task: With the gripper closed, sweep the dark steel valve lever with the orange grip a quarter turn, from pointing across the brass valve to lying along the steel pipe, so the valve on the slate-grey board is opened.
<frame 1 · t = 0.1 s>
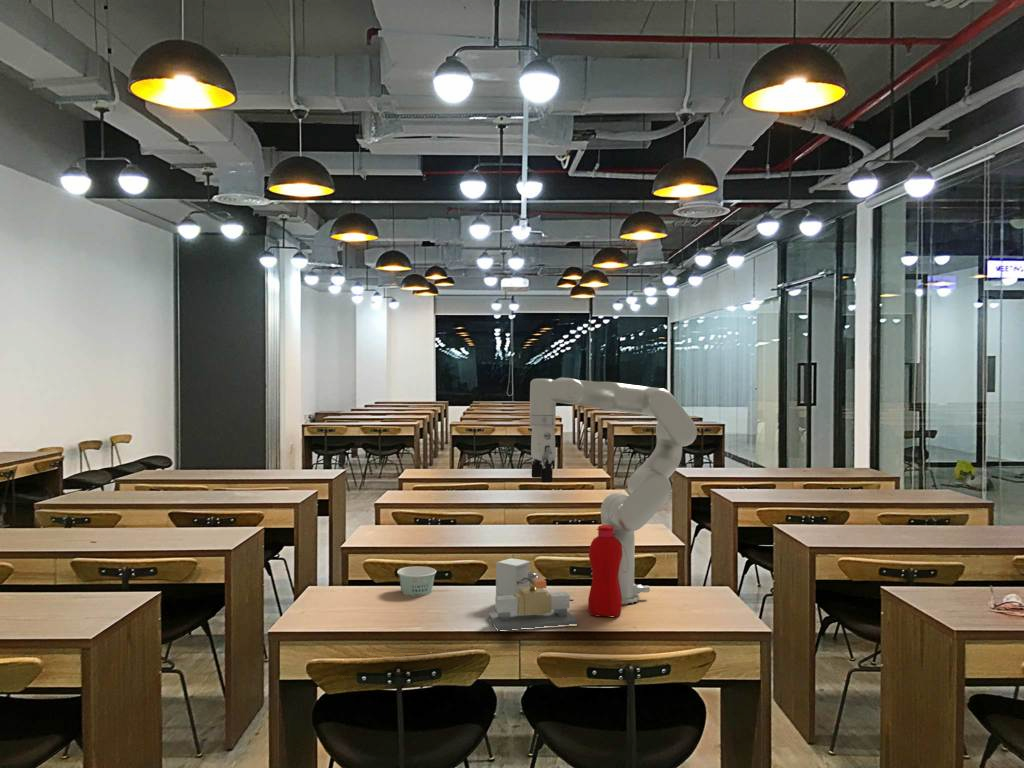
hand: (541, 479, 254), 37 cm above the table, tool pointing down, fingers open, 9 cm apart
food container: (416, 592, 268), on the table
valve lever: (536, 580, 234), point 12 cm above the table, hinge at 0.0°
supplement box: (512, 604, 256), on the table
pipe valve: (532, 599, 238), on the mounting board, point 6 cm above the table
mounting board: (532, 622, 238), on the table
water bottle: (608, 614, 247), on the table
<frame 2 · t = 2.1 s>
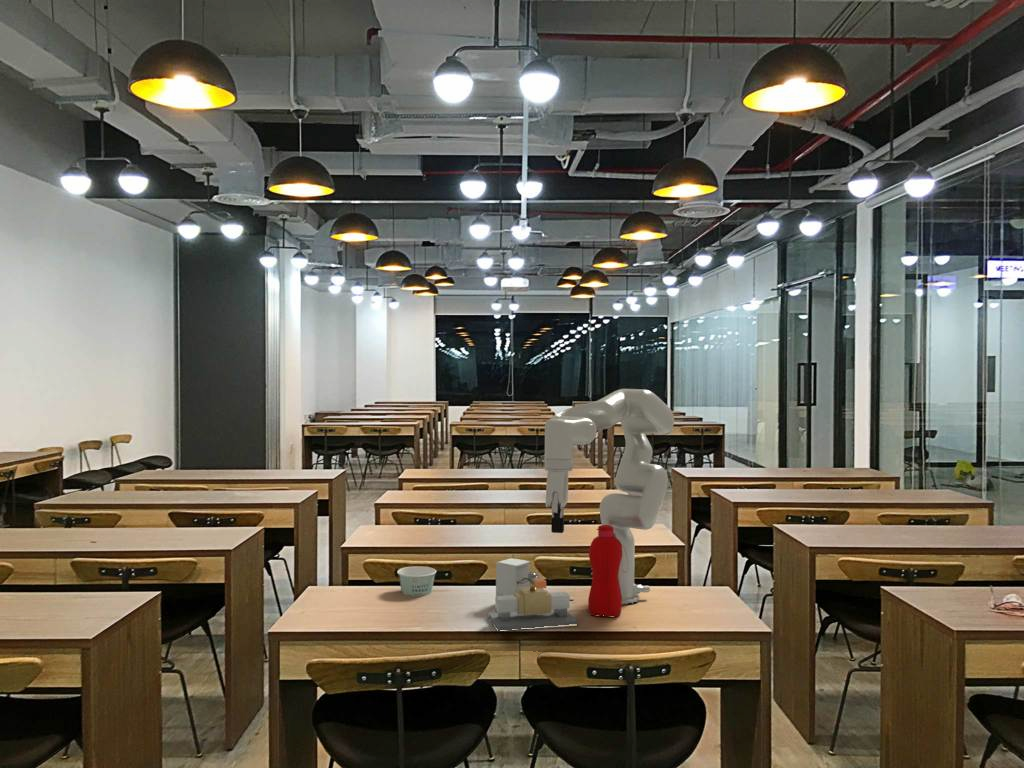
hand: (557, 532, 236), 25 cm above the table, tool pointing down, fingers closed
nothing on the table moved.
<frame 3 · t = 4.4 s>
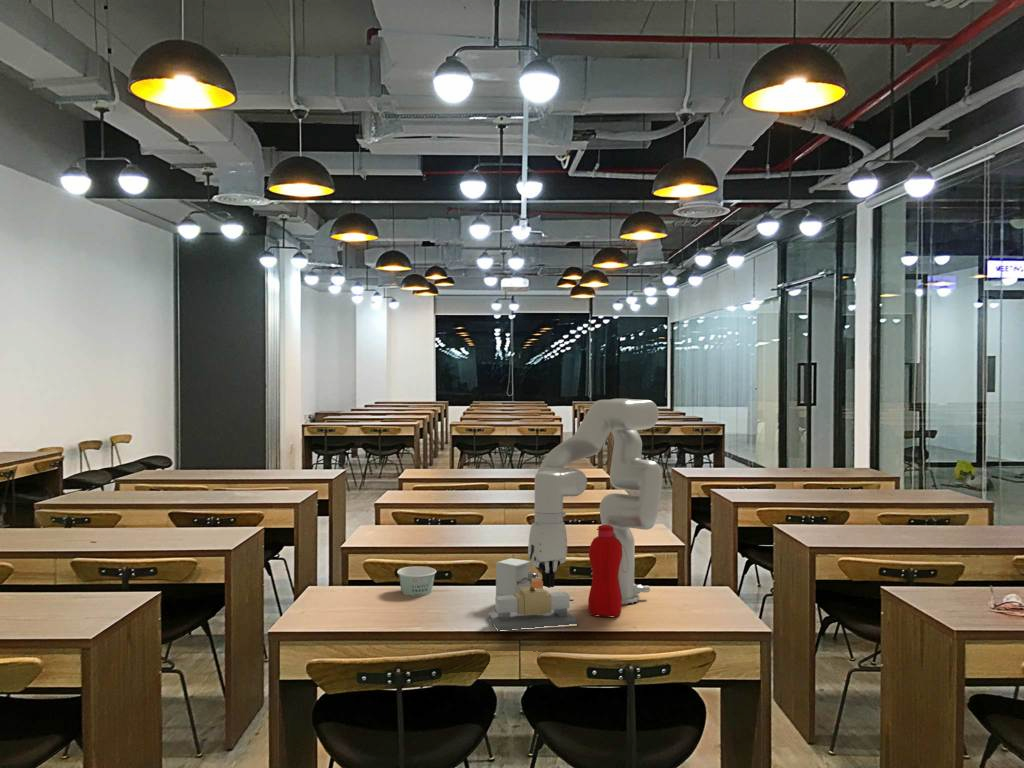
hand: (548, 586, 233), 11 cm above the table, tool pointing down, fingers closed
valve lever: (535, 580, 234), point 12 cm above the table, hinge at -6.3°, touching gripper
everything else where it was.
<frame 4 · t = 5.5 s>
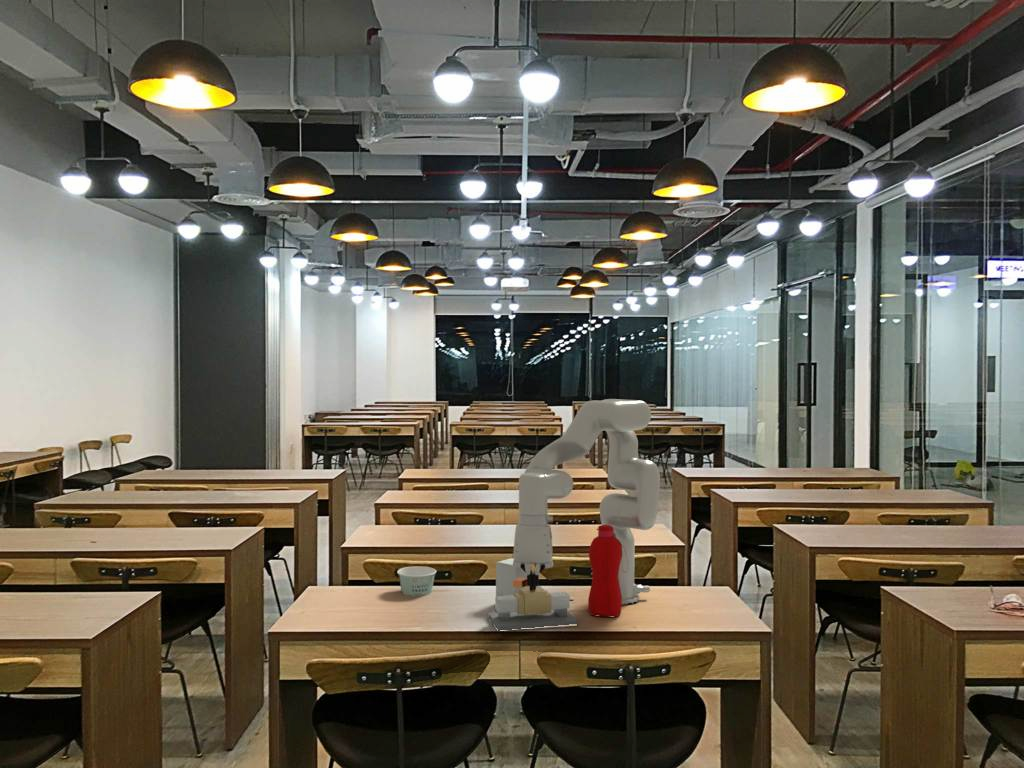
hand: (532, 588, 231), 11 cm above the table, tool pointing down, fingers closed
valve lever: (526, 579, 235), point 12 cm above the table, hinge at -43.7°, touching gripper
everything else where it was.
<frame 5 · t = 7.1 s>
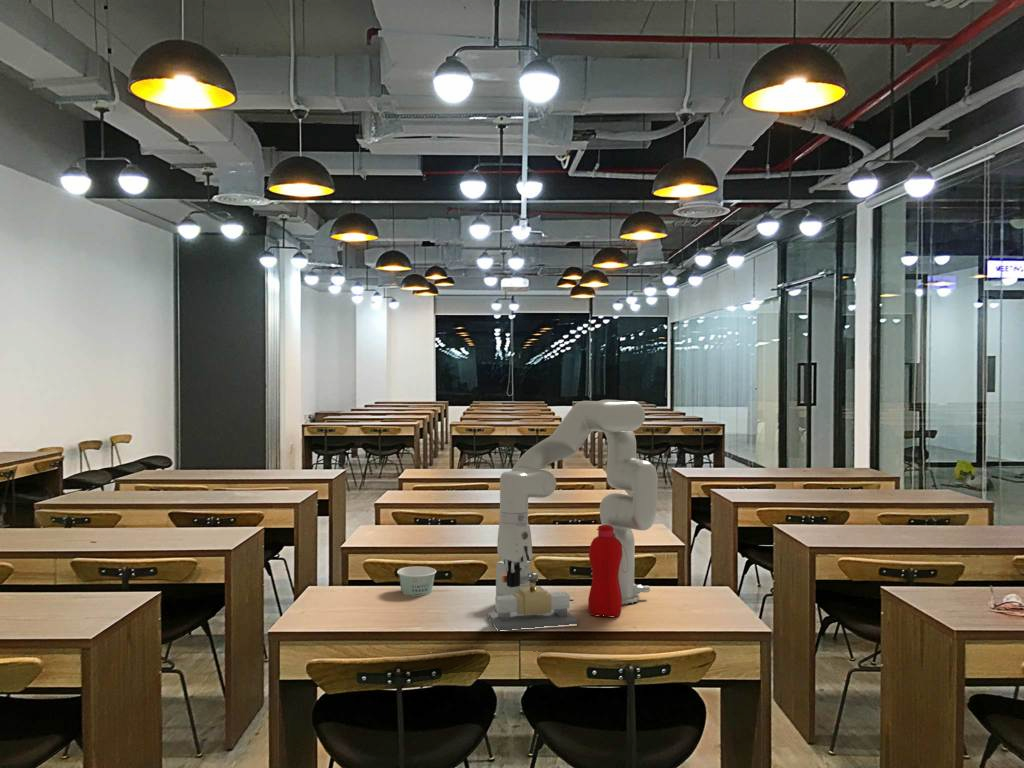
hand: (513, 586, 234), 11 cm above the table, tool pointing down, fingers closed
valve lever: (519, 577, 237), point 12 cm above the table, hinge at -92.8°, touching gripper
everything else where it was.
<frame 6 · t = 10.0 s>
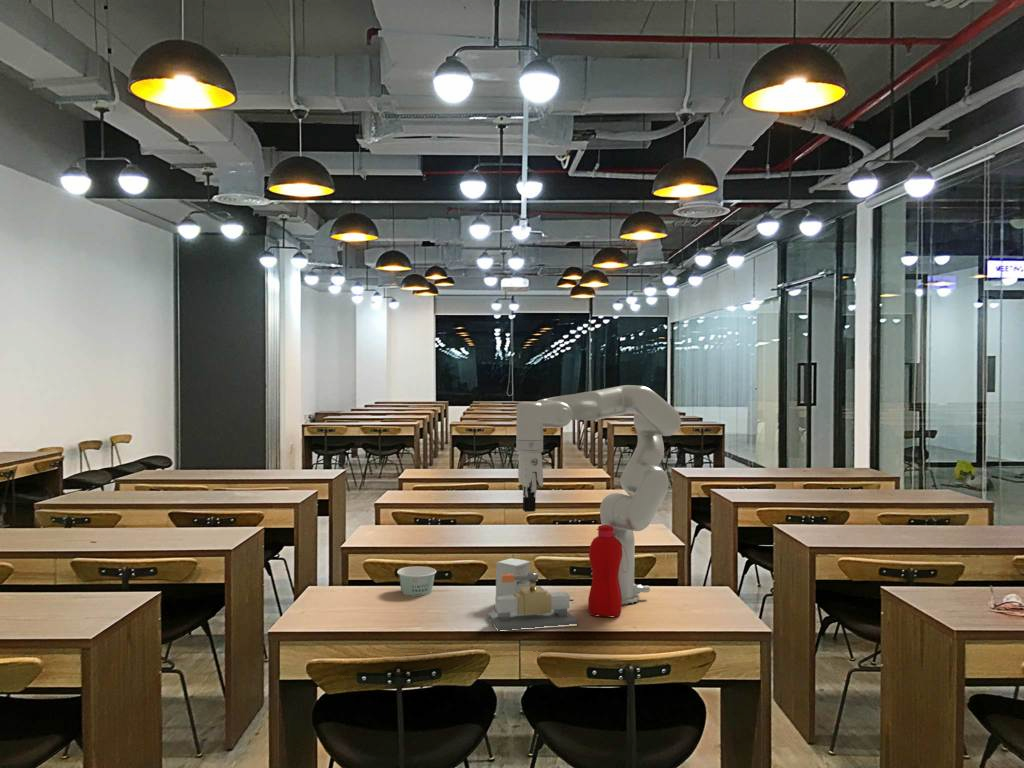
hand: (529, 510, 245), 29 cm above the table, tool pointing down, fingers closed
valve lever: (519, 577, 237), point 12 cm above the table, hinge at -92.9°
everything else where it was.
at the end: valve lever at -93° (first picture: +0°); water bottle moved 0.2 cm from its start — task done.
